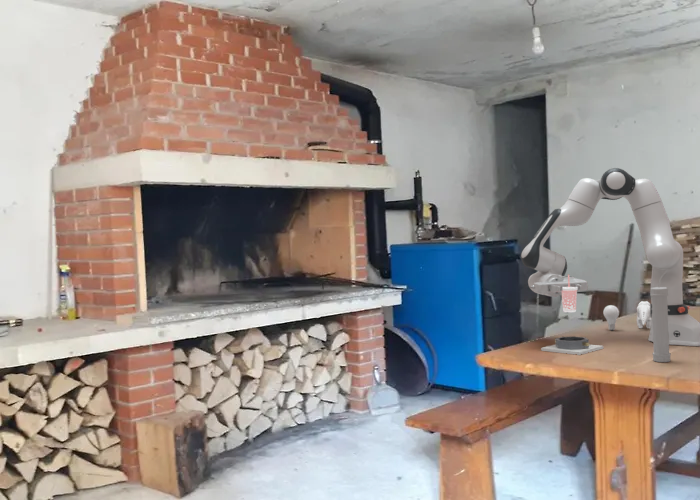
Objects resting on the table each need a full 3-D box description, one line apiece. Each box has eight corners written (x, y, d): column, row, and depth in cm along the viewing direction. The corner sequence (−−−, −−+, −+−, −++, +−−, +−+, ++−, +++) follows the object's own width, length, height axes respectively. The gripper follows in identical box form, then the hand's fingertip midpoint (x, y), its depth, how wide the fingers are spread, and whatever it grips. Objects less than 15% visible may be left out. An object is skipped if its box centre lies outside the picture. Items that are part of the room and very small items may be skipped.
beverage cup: (576, 313, 249) (575, 274, 248) (559, 312, 252) (558, 274, 252) (579, 310, 254) (578, 273, 254) (563, 310, 257) (562, 273, 257)
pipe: (649, 360, 227) (645, 270, 227) (667, 358, 228) (663, 269, 227) (658, 363, 222) (654, 271, 221) (676, 361, 222) (673, 270, 222)
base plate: (603, 348, 252) (603, 345, 252) (579, 355, 242) (579, 352, 242) (565, 344, 264) (565, 341, 264) (541, 350, 254) (541, 347, 254)
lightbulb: (621, 331, 289) (620, 305, 288) (605, 331, 290) (604, 306, 290) (618, 329, 295) (617, 304, 294) (602, 329, 296) (601, 304, 296)
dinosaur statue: (654, 322, 304) (653, 298, 303) (652, 336, 283) (651, 309, 282) (637, 322, 307) (636, 298, 306) (634, 335, 286) (633, 309, 285)
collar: (596, 346, 252) (596, 338, 251) (580, 350, 244) (579, 342, 244) (564, 343, 262) (564, 335, 262) (547, 347, 255) (547, 339, 255)
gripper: (527, 278, 264) (543, 281, 250) (576, 276, 267) (595, 278, 254) (528, 294, 264) (544, 298, 250) (577, 292, 267) (595, 295, 254)
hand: (570, 288), depth 252 cm, fingers closed on beverage cup, 6 cm apart
